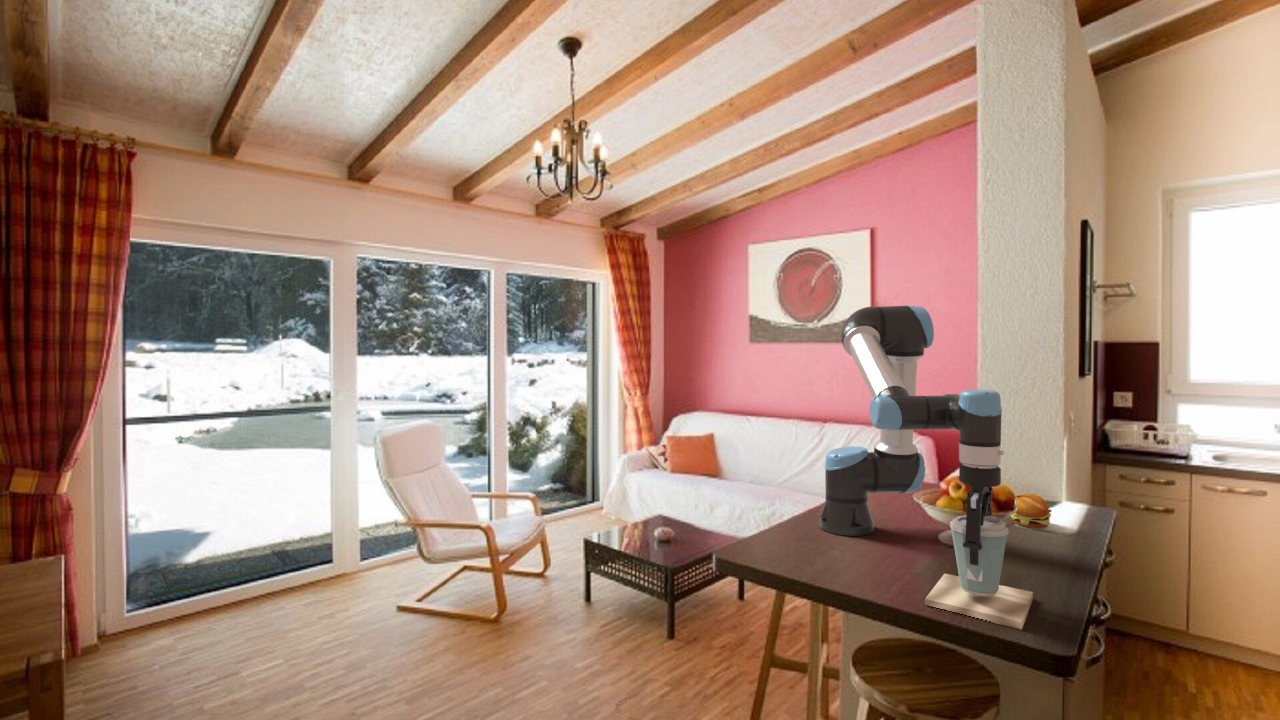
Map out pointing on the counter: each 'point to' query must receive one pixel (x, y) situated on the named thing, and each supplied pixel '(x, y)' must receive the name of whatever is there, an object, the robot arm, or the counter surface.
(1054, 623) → the counter surface
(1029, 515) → the cheeseburger
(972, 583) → the disposable coffee cup
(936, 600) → the birch board
